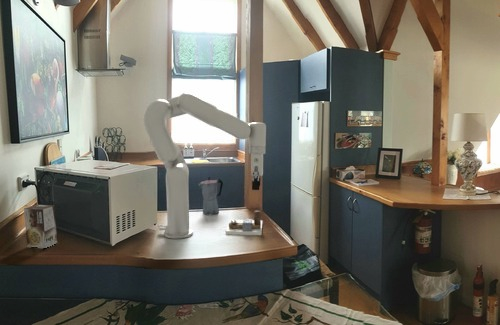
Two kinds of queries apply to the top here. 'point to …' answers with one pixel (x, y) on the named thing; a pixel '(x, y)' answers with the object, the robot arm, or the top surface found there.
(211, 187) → the moka pot
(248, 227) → the keeper
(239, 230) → the base plate
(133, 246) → the top surface
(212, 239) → the top surface
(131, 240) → the top surface
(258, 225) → the walnut link
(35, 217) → the coffee box
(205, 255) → the top surface
